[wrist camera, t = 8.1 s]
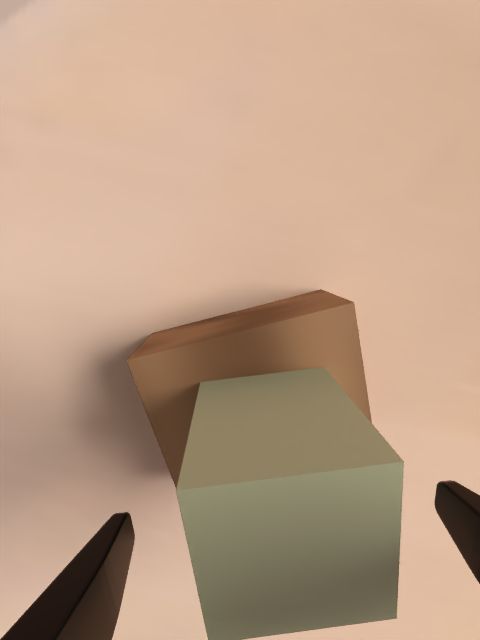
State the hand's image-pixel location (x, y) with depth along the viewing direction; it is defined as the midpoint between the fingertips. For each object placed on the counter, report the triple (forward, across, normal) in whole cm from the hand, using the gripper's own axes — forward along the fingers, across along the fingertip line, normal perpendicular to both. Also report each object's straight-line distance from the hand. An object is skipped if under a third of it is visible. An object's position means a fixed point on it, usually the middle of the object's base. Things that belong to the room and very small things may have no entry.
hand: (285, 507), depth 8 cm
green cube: (+4, 0, 0) cm, 4 cm away
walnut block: (+8, 0, 0) cm, 8 cm away
